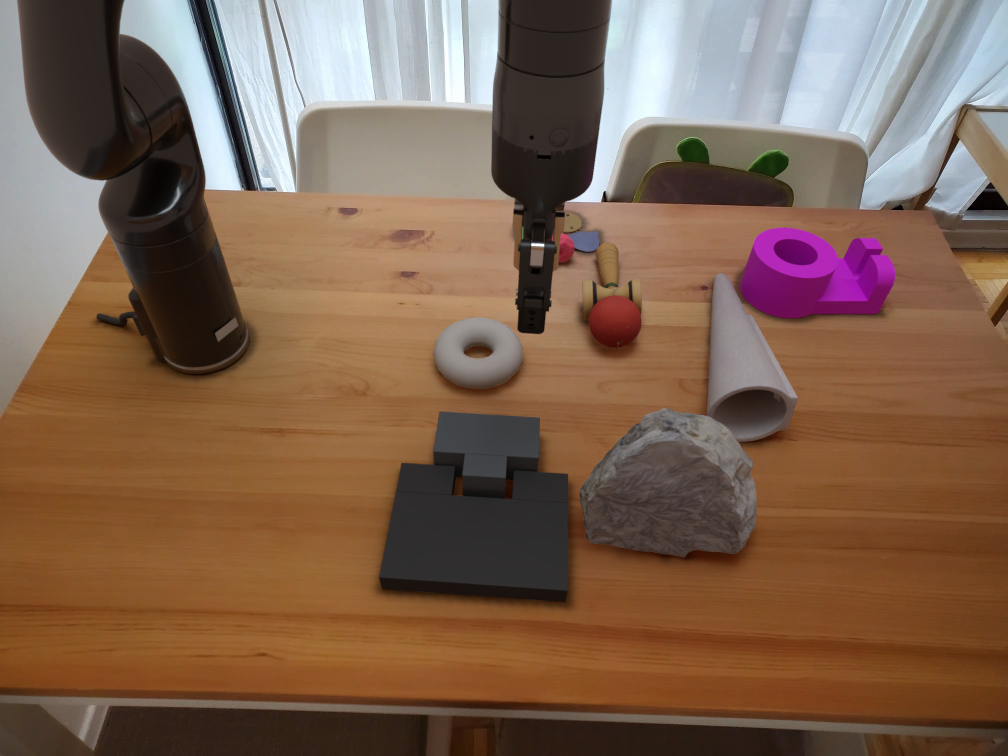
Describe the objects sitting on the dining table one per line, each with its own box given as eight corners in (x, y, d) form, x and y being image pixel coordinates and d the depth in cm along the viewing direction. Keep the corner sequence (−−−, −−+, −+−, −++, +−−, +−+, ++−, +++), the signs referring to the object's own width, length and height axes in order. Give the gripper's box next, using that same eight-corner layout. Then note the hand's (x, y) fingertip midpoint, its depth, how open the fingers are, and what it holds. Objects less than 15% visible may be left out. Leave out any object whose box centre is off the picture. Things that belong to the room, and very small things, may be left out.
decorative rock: (572, 548, 66) (591, 447, 55) (577, 487, 70) (595, 384, 59) (754, 573, 64) (811, 475, 53) (747, 510, 69) (798, 408, 58)
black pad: (381, 589, 62) (378, 577, 61) (403, 475, 71) (401, 462, 69) (565, 602, 62) (567, 590, 60) (566, 486, 70) (568, 473, 69)
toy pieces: (613, 261, 94) (618, 234, 91) (531, 272, 92) (533, 244, 89) (585, 210, 102) (589, 183, 99) (509, 219, 100) (510, 191, 97)
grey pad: (431, 497, 69) (429, 473, 66) (440, 435, 74) (439, 410, 71) (535, 504, 69) (538, 479, 66) (537, 441, 74) (540, 417, 71)
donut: (423, 388, 79) (513, 402, 77) (421, 366, 76) (514, 380, 75) (446, 327, 85) (529, 339, 84) (445, 305, 83) (530, 317, 82)
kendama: (569, 269, 95) (574, 351, 81) (582, 226, 91) (590, 305, 77) (625, 280, 96) (640, 363, 82) (640, 239, 92) (659, 319, 78)
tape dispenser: (751, 318, 88) (766, 278, 83) (731, 267, 94) (744, 227, 90) (879, 318, 88) (902, 278, 84) (851, 267, 95) (869, 227, 90)
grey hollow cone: (664, 249, 89) (714, 386, 69) (734, 248, 89) (804, 385, 70) (656, 301, 94) (700, 442, 74) (721, 300, 94) (783, 442, 75)
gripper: (499, 71, 55) (495, 244, 67) (483, 171, 45) (482, 352, 57) (597, 76, 55) (575, 249, 67) (603, 178, 45) (576, 358, 57)
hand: (532, 296), depth 62 cm, fingers open, 8 cm apart
